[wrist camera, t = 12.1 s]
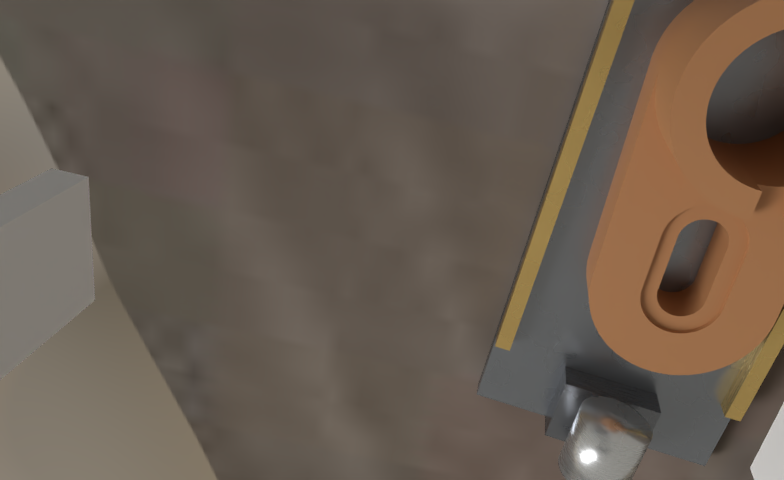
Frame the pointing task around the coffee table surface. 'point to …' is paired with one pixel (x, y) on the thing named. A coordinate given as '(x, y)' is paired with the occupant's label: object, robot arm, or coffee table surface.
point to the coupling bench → (569, 262)
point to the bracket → (691, 207)
